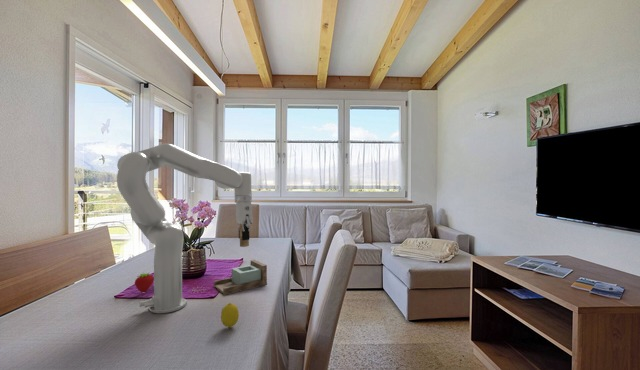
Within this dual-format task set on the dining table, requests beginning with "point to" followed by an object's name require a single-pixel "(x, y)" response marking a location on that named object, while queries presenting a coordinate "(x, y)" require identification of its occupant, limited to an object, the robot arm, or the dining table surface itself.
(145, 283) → the strawberry
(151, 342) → the dining table surface
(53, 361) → the dining table surface
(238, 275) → the socket block
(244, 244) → the oak dowel
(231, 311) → the lemon
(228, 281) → the track board
